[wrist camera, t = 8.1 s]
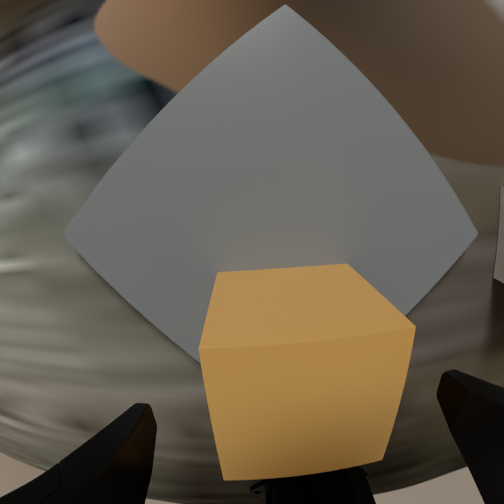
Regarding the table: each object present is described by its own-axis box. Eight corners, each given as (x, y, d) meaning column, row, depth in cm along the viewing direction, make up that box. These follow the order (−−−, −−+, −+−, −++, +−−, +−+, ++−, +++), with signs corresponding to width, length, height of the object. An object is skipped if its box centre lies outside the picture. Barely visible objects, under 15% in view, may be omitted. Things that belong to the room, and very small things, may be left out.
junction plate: (277, 406, 16) (286, 469, 12) (74, 230, 13) (15, 253, 9) (464, 229, 14) (525, 249, 9) (282, 16, 11) (297, -41, 7)
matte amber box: (340, 370, 14) (382, 459, 8) (228, 380, 14) (223, 480, 8) (347, 263, 13) (416, 326, 7) (217, 272, 13) (198, 348, 7)
